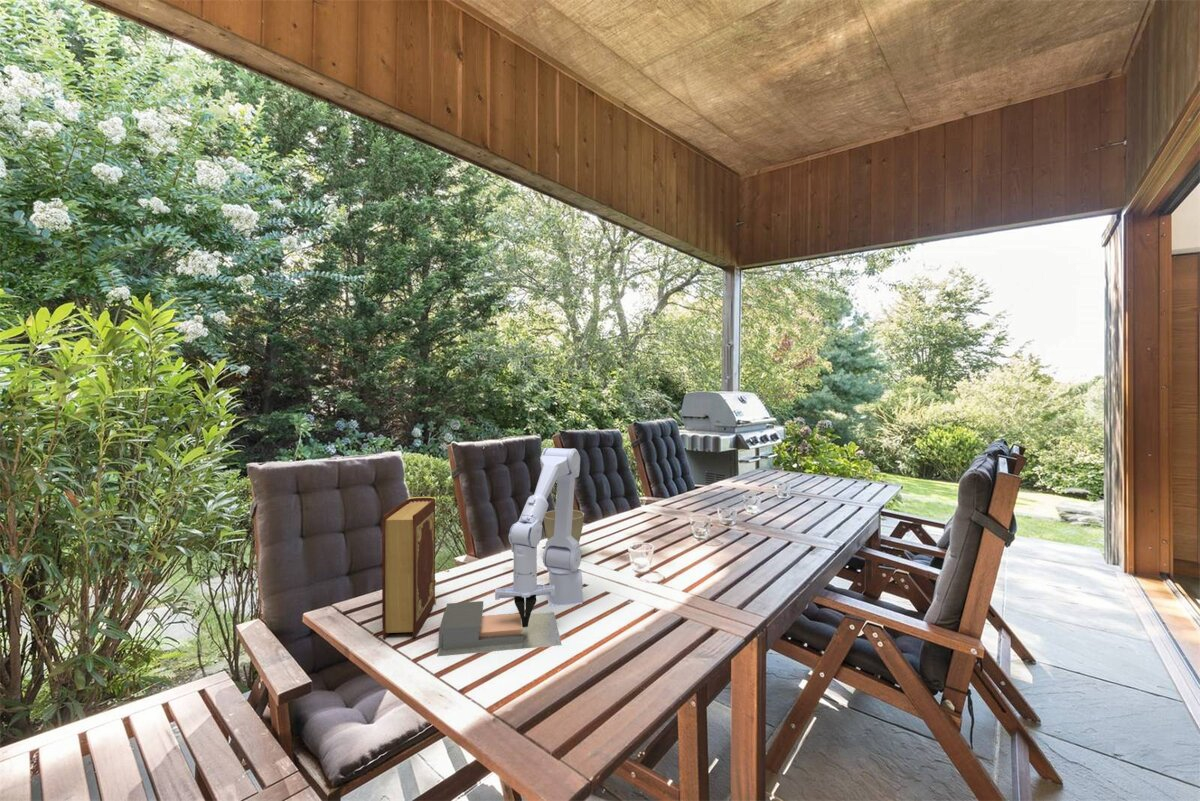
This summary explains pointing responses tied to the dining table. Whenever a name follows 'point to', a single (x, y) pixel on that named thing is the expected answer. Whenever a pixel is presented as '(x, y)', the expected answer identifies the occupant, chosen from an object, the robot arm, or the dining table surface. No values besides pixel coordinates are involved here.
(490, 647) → the dock
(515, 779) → the dining table surface
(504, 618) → the peach rectangular panel
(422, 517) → the decorative book
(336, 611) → the dining table surface
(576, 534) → the plant pot
